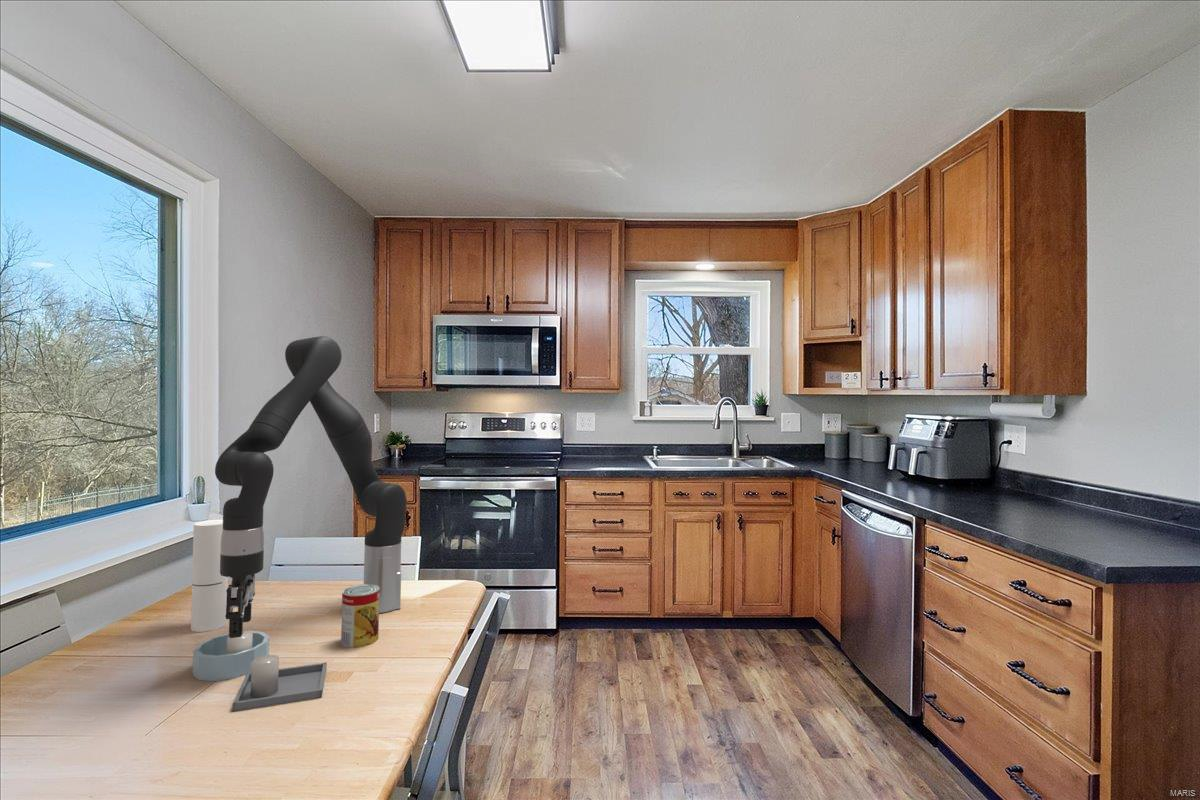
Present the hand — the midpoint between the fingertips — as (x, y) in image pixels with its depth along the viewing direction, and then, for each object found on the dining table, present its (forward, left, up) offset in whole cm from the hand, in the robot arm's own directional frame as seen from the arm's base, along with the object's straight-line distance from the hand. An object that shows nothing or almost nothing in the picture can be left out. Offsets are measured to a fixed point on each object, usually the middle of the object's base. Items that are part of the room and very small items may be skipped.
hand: (240, 629), depth 115 cm
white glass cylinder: (0, 0, -7) cm, 7 cm away
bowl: (+2, -1, -8) cm, 8 cm away
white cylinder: (-6, +14, -8) cm, 17 cm away
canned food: (-22, -6, -8) cm, 25 cm away
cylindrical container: (+12, -28, -8) cm, 31 cm away
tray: (-10, +13, -8) cm, 18 cm away
